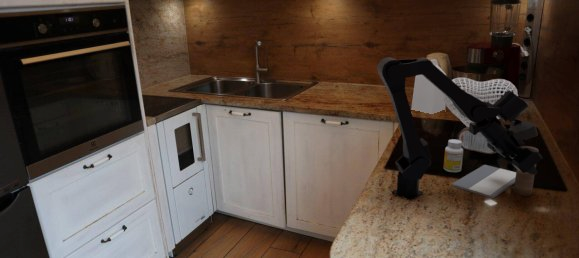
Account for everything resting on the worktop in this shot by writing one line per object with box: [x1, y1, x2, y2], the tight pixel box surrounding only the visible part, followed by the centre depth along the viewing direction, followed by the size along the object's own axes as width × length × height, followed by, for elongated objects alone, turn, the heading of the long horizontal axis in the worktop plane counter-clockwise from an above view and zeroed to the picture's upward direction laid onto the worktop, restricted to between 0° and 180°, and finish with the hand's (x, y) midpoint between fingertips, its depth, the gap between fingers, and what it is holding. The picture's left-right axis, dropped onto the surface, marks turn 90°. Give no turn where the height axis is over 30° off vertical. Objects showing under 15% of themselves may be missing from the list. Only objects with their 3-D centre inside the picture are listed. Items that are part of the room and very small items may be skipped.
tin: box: [457, 126, 498, 155], centre depth 150 cm, size 15×3×8 cm, turn 47°
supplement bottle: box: [443, 138, 464, 173], centre depth 134 cm, size 5×5×10 cm
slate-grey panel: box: [451, 164, 516, 199], centre depth 126 cm, size 22×12×1 cm, turn 132°
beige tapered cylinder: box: [513, 145, 540, 197], centre depth 116 cm, size 5×5×13 cm
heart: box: [443, 77, 519, 127], centre depth 172 cm, size 28×16×22 cm, turn 68°
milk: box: [410, 59, 447, 114], centre depth 202 cm, size 12×12×26 cm
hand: (530, 170), depth 116 cm, fingers closed on beige tapered cylinder, 4 cm apart
